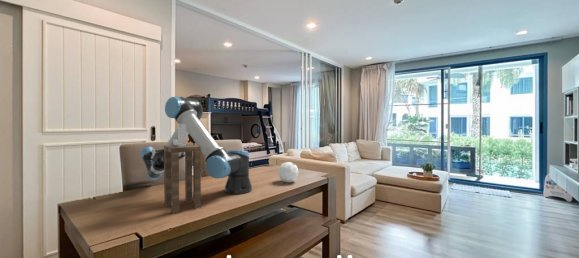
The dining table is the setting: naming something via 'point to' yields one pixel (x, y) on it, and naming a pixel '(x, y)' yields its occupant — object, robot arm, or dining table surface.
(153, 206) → the dining table surface
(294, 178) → the geodesic sphere
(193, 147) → the plant stand
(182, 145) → the shelf bracket
